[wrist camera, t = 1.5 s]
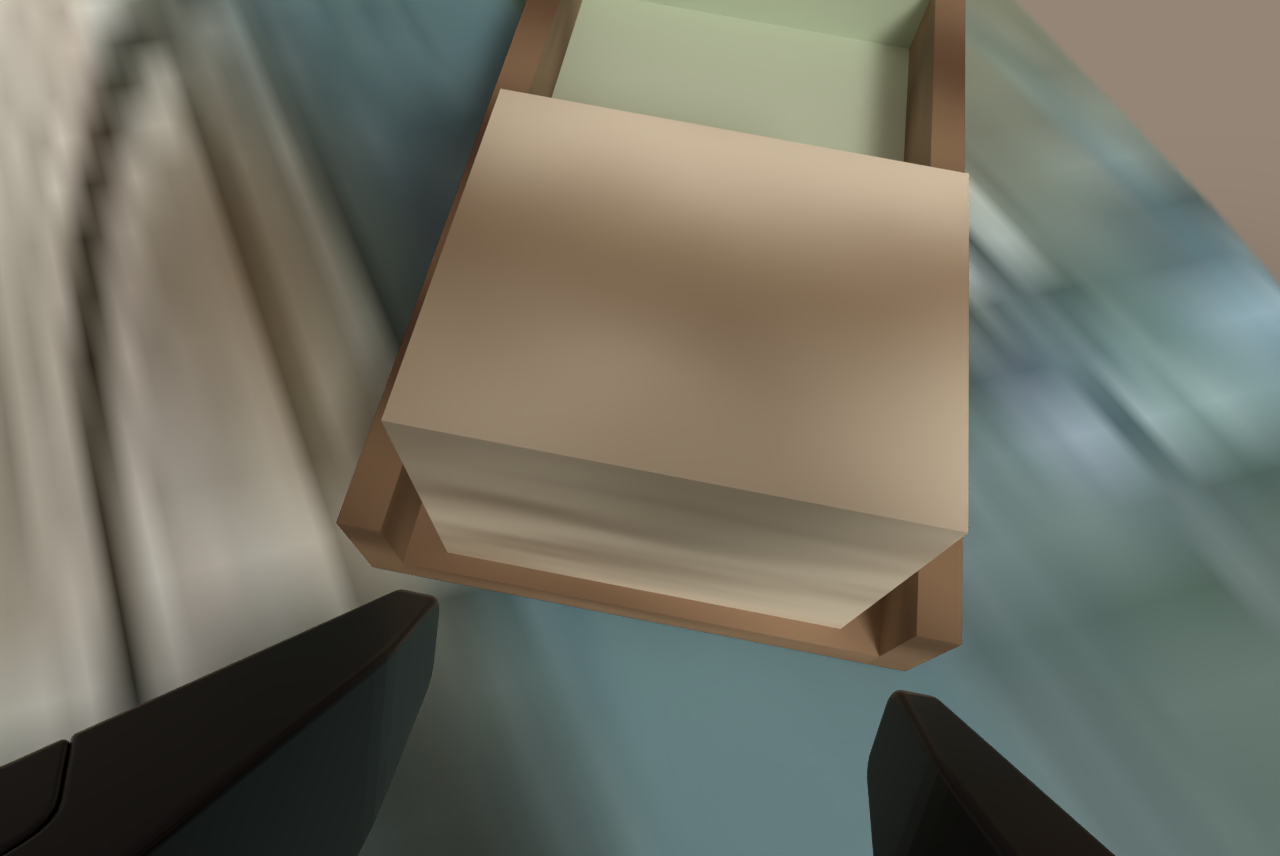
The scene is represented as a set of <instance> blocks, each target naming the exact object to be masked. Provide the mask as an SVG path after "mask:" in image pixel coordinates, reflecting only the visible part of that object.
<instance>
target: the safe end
mask: <svg viewBox="0 0 1280 856" xmlns="http://www.w3.org/2000/svg"><path fill="white" fill-rule="evenodd" d="M929 1H930V0H582V3H581V7H580V10H579V13H578V16H577V19H576V22H575V25H574V29H573V32H572V35H571V38H570V41H569V44H568V47H567V50H566V54H565V57H564V60H563V63H562V66H561V69H560V72H559V76H558V79H557V82H556V85H555V88H554V91H553V94H552V97H551V98H555V99H560V100H566V101H571V102H577V103H582V104H588V105H593V106H599V107H604V108H610V109H615V110H621V111H626V112H632V113H638V114H643V115H649V116H654V117H660V118H665V119H671V120H676V121H682V122H687V123H693V124H698V125H704V126H709V127H715V128H720V129H726V130H731V131H737V132H742V133H748V134H753V135H759V136H764V137H770V138H775V139H781V140H786V141H792V142H797V143H803V144H808V145H814V146H819V147H825V148H830V149H836V150H841V151H847V152H852V153H858V154H863V155H869V156H874V157H880V158H885V159H891V160H896V161H902V162H904V146H905V126H906V106H907V86H908V65H909V48H910V46H911V44H912V41H913V39H914V36H915V34H916V32H917V29H918V27H919V25H920V22H921V20H922V17H923V15H924V13H925V10H926V8H927V6H928V3H929Z"/></svg>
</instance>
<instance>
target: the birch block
mask: <svg viewBox="0 0 1280 856" xmlns="http://www.w3.org/2000/svg"><path fill="white" fill-rule="evenodd" d="M381 421H382V423H383V425H384V427H385V429H386V431H387V433H388V435H389V437H390V439H391V441H392V443H393V445H394V447H395V449H396V451H397V453H398V455H399V457H400V459H401V461H402V463H403V465H404V467H405V469H406V471H407V473H408V475H409V477H410V479H411V481H412V483H413V485H414V487H415V489H416V491H417V493H418V495H419V497H420V499H421V501H422V503H423V505H424V507H425V509H426V511H427V513H428V515H429V517H430V519H431V521H432V523H433V525H434V527H435V529H436V531H437V533H438V535H439V537H440V539H441V541H442V543H443V545H444V547H445V549H446V551H447V552H448V553H453V554H458V555H464V556H469V557H474V558H479V559H484V560H489V561H494V562H499V563H505V564H510V565H515V566H520V567H525V568H530V569H535V570H541V571H546V572H551V573H556V574H561V575H566V576H571V577H576V578H582V579H587V580H592V581H597V582H602V583H607V584H612V585H618V586H623V587H628V588H633V589H638V590H643V591H648V592H653V593H659V594H664V595H669V596H674V597H679V598H684V599H689V600H695V601H700V602H705V603H710V604H715V605H720V606H725V607H731V608H736V609H741V610H746V611H751V612H756V613H761V614H766V615H772V616H777V617H782V618H787V619H792V620H797V621H802V622H808V623H813V624H818V625H823V626H828V627H833V628H838V629H841V628H842V627H844V626H845V625H846V624H848V623H849V622H850V621H852V620H853V619H854V618H856V617H857V616H858V615H860V614H861V613H862V612H864V611H865V610H866V609H868V608H869V607H870V606H872V605H873V604H874V603H876V602H877V601H878V600H880V599H881V598H882V597H884V596H885V595H886V594H888V593H889V592H890V591H892V590H893V589H894V588H896V587H897V586H898V585H900V584H901V583H902V582H904V581H905V580H906V579H908V578H909V577H910V576H912V575H913V574H914V573H916V572H917V571H918V570H920V569H921V568H922V567H924V566H925V565H926V564H928V563H929V562H930V561H932V560H933V559H934V558H936V557H937V556H938V555H940V554H941V553H942V552H943V551H945V550H946V549H947V548H949V547H950V546H951V545H953V544H954V543H955V542H957V541H958V540H959V539H961V538H962V537H963V536H965V535H966V534H967V533H968V429H969V174H968V173H962V172H957V171H951V170H946V169H940V168H935V167H929V166H924V165H918V164H913V163H907V162H902V161H896V160H891V159H885V158H880V157H874V156H869V155H863V154H858V153H852V152H847V151H841V150H836V149H830V148H825V147H819V146H814V145H808V144H803V143H797V142H792V141H786V140H781V139H775V138H770V137H764V136H759V135H753V134H748V133H742V132H737V131H731V130H726V129H720V128H715V127H709V126H704V125H698V124H693V123H687V122H682V121H676V120H671V119H665V118H660V117H654V116H649V115H643V114H638V113H632V112H626V111H621V110H615V109H610V108H604V107H599V106H593V105H588V104H582V103H577V102H571V101H566V100H560V99H555V98H549V97H544V96H538V95H533V94H527V93H522V92H516V91H511V90H505V89H500V92H499V94H498V97H497V100H496V103H495V106H494V108H493V111H492V114H491V117H490V119H489V122H488V125H487V128H486V131H485V133H484V136H483V139H482V142H481V144H480V147H479V150H478V153H477V156H476V158H475V161H474V164H473V167H472V169H471V172H470V175H469V178H468V181H467V183H466V186H465V189H464V192H463V194H462V197H461V200H460V203H459V206H458V208H457V211H456V214H455V217H454V219H453V222H452V225H451V228H450V231H449V233H448V236H447V239H446V242H445V244H444V247H443V250H442V253H441V256H440V258H439V261H438V264H437V267H436V269H435V272H434V275H433V278H432V280H431V283H430V286H429V289H428V292H427V294H426V297H425V300H424V303H423V305H422V308H421V311H420V314H419V317H418V319H417V322H416V325H415V328H414V330H413V333H412V336H411V339H410V342H409V344H408V347H407V350H406V353H405V355H404V358H403V361H402V364H401V367H400V369H399V372H398V375H397V378H396V380H395V383H394V386H393V389H392V392H391V394H390V397H389V400H388V403H387V405H386V408H385V411H384V414H383V417H382V419H381Z"/></svg>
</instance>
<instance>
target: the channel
mask: <svg viewBox="0 0 1280 856" xmlns="http://www.w3.org/2000/svg"><path fill="white" fill-rule="evenodd" d="M581 3H582V0H527V1H526V4H525V7H524V9H523V12H522V15H521V18H520V20H519V23H518V26H517V28H516V31H515V34H514V37H513V39H512V42H511V45H510V48H509V50H508V53H507V56H506V59H505V61H504V64H503V67H502V70H501V72H500V75H499V78H498V81H497V83H496V86H495V89H494V92H493V94H492V97H491V100H490V102H489V105H488V108H487V111H486V113H485V116H484V119H483V122H482V124H481V127H480V130H479V133H478V135H477V138H476V141H475V144H474V146H473V149H472V152H471V155H470V157H469V160H468V163H467V166H466V168H465V171H464V174H463V177H462V179H461V182H460V185H459V187H458V190H457V193H456V196H455V198H454V201H453V204H452V207H451V209H450V212H449V215H448V218H447V220H446V223H445V226H444V229H443V231H442V234H441V237H440V240H439V242H438V245H437V248H436V251H435V253H434V256H433V259H432V261H431V264H430V267H429V270H428V272H427V275H426V278H425V281H424V283H423V286H422V289H421V292H420V294H419V297H418V300H417V303H416V305H415V308H414V311H413V314H412V316H411V319H410V322H409V325H408V327H407V330H406V333H405V335H404V338H403V341H402V344H401V346H400V349H399V352H398V355H397V357H396V360H395V363H394V366H393V368H392V371H391V374H390V377H389V379H388V382H387V385H386V388H385V390H384V393H383V396H382V399H381V401H380V404H379V407H378V409H377V412H376V415H375V418H374V420H373V423H372V426H371V429H370V431H369V434H368V437H367V440H366V442H365V445H364V448H363V451H362V453H361V456H360V459H359V462H358V464H357V467H356V470H355V473H354V475H353V478H352V481H351V483H350V486H349V489H348V492H347V494H346V497H345V500H344V503H343V505H342V508H341V511H340V514H339V516H338V519H337V522H336V523H337V524H338V526H339V527H340V528H341V529H342V530H343V532H344V533H345V534H346V535H347V537H348V538H349V539H350V540H351V541H352V543H353V544H354V545H355V546H356V547H357V549H358V550H359V551H360V552H361V553H362V555H363V556H364V557H365V558H366V560H367V561H368V562H369V563H370V564H371V566H372V567H375V568H380V569H385V570H390V571H395V572H400V573H405V574H411V575H416V576H421V577H426V578H431V579H436V580H441V581H446V582H451V583H457V584H462V585H467V586H472V587H477V588H482V589H487V590H492V591H498V592H503V593H508V594H513V595H518V596H523V597H528V598H533V599H538V600H544V601H549V602H554V603H559V604H564V605H569V606H574V607H579V608H584V609H590V610H595V611H600V612H605V613H610V614H615V615H620V616H625V617H630V618H636V619H641V620H646V621H651V622H656V623H661V624H666V625H671V626H676V627H682V628H687V629H692V630H697V631H702V632H707V633H712V634H717V635H723V636H728V637H733V638H738V639H743V640H748V641H753V642H758V643H763V644H769V645H774V646H779V647H784V648H789V649H794V650H799V651H804V652H809V653H815V654H820V655H825V656H830V657H835V658H840V659H845V660H850V661H855V662H861V663H866V664H871V665H876V666H881V667H886V668H891V669H896V670H902V671H907V670H909V669H911V668H913V667H915V666H917V665H920V664H922V663H924V662H926V661H928V660H930V659H932V658H934V657H937V656H939V655H941V654H943V653H945V652H947V651H949V650H951V649H954V648H956V647H958V646H960V645H962V561H963V537H962V538H961V539H959V540H958V541H957V542H955V543H954V544H953V545H951V546H950V547H949V548H947V549H946V550H945V551H943V552H942V553H941V554H940V555H938V556H937V557H936V558H934V559H933V560H932V561H930V562H929V563H928V564H926V565H925V566H924V567H922V568H921V569H920V570H918V571H917V572H916V573H914V574H913V575H912V576H910V577H909V578H908V579H906V580H905V581H904V582H902V583H901V584H900V585H898V586H897V587H896V588H894V589H893V590H892V591H890V592H889V593H888V594H886V595H885V596H884V597H882V598H881V599H880V600H878V601H877V602H876V603H874V604H873V605H872V606H870V607H869V608H868V609H866V610H865V611H864V612H862V613H861V614H860V615H858V616H857V617H856V618H854V619H853V620H852V621H850V622H849V623H848V624H846V625H845V626H844V627H842V628H841V629H838V628H833V627H828V626H823V625H818V624H813V623H808V622H802V621H797V620H792V619H787V618H782V617H777V616H772V615H766V614H761V613H756V612H751V611H746V610H741V609H736V608H731V607H725V606H720V605H715V604H710V603H705V602H700V601H695V600H689V599H684V598H679V597H674V596H669V595H664V594H659V593H653V592H648V591H643V590H638V589H633V588H628V587H623V586H618V585H612V584H607V583H602V582H597V581H592V580H587V579H582V578H576V577H571V576H566V575H561V574H556V573H551V572H546V571H541V570H535V569H530V568H525V567H520V566H515V565H510V564H505V563H499V562H494V561H489V560H484V559H479V558H474V557H469V556H464V555H458V554H453V553H448V552H447V551H446V549H445V547H444V545H443V543H442V541H441V539H440V537H439V535H438V533H437V531H436V529H435V527H434V525H433V523H432V521H431V519H430V517H429V515H428V513H427V511H426V509H425V507H424V505H423V503H422V501H421V499H420V497H419V495H418V493H417V491H416V489H415V487H414V485H413V483H412V481H411V479H410V477H409V475H408V473H407V471H406V469H405V467H404V465H403V463H402V461H401V459H400V457H399V455H398V453H397V451H396V449H395V447H394V445H393V443H392V441H391V439H390V437H389V435H388V433H387V431H386V429H385V427H384V425H383V423H382V421H381V419H382V417H383V414H384V411H385V408H386V405H387V403H388V400H389V397H390V394H391V392H392V389H393V386H394V383H395V380H396V378H397V375H398V372H399V369H400V367H401V364H402V361H403V358H404V355H405V353H406V350H407V347H408V344H409V342H410V339H411V336H412V333H413V330H414V328H415V325H416V322H417V319H418V317H419V314H420V311H421V308H422V305H423V303H424V300H425V297H426V294H427V292H428V289H429V286H430V283H431V280H432V278H433V275H434V272H435V269H436V267H437V264H438V261H439V258H440V256H441V253H442V250H443V247H444V244H445V242H446V239H447V236H448V233H449V231H450V228H451V225H452V222H453V219H454V217H455V214H456V211H457V208H458V206H459V203H460V200H461V197H462V194H463V192H464V189H465V186H466V183H467V181H468V178H469V175H470V172H471V169H472V167H473V164H474V161H475V158H476V156H477V153H478V150H479V147H480V144H481V142H482V139H483V136H484V133H485V131H486V128H487V125H488V122H489V119H490V117H491V114H492V111H493V108H494V106H495V103H496V100H497V97H498V94H499V92H500V89H505V90H511V91H516V92H522V93H527V94H533V95H538V96H544V97H549V98H551V97H552V94H553V91H554V88H555V85H556V82H557V79H558V76H559V72H560V69H561V66H562V63H563V60H564V57H565V54H566V50H567V47H568V44H569V41H570V38H571V35H572V32H573V29H574V25H575V22H576V19H577V16H578V13H579V10H580V7H581ZM904 162H907V163H913V164H918V165H924V166H929V167H935V168H940V169H946V170H951V171H957V172H962V173H965V0H930V1H929V3H928V6H927V8H926V10H925V13H924V15H923V17H922V20H921V22H920V25H919V27H918V29H917V32H916V34H915V36H914V39H913V41H912V44H911V46H910V48H909V65H908V86H907V106H906V126H905V146H904Z"/></svg>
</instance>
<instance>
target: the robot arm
mask: <svg viewBox="0 0 1280 856" xmlns="http://www.w3.org/2000/svg"><path fill="white" fill-rule="evenodd" d="M438 618H439V603H438V600H437V599H436V598H435V597H434V596H431V595H427V594H422V593H417V592H412V591H407V590H397V591H394V592H392V593H389V594H387V595H385V596H383V597H380V598H378V599H376V600H374V601H371V602H369V603H367V604H365V605H362V606H360V607H358V608H356V609H354V610H351V611H349V612H347V613H345V614H342V615H340V616H338V617H336V618H333V619H331V620H329V621H327V622H324V623H322V624H320V625H318V626H315V627H313V628H311V629H309V630H307V631H304V632H302V633H300V634H298V635H295V636H293V637H291V638H289V639H286V640H284V641H282V642H280V643H277V644H275V645H273V646H271V647H269V648H266V649H264V650H262V651H260V652H257V653H255V654H253V655H251V656H248V657H246V658H244V659H242V660H239V661H237V662H235V663H233V664H230V665H228V666H226V667H224V668H222V669H219V670H217V671H215V672H213V673H210V674H208V675H206V676H204V677H201V678H199V679H197V680H195V681H192V682H190V683H188V684H186V685H183V686H181V687H179V688H177V689H175V690H172V691H170V692H168V693H166V694H163V695H161V696H159V697H157V698H154V699H152V700H150V701H148V702H145V703H143V704H141V705H139V706H136V707H134V708H132V709H130V710H128V711H125V712H123V713H121V714H119V715H116V716H114V717H112V718H110V719H107V720H105V721H103V722H101V723H98V724H96V725H94V726H92V727H89V728H87V729H85V730H83V731H80V732H78V733H76V734H74V735H73V736H72V738H71V742H70V743H69V741H68V740H60V741H57V742H55V743H53V744H51V745H49V746H46V747H44V748H42V749H40V750H37V751H35V752H33V753H31V754H28V755H26V756H24V757H22V758H19V759H17V760H15V761H13V762H10V763H8V764H6V765H3V766H1V767H0V856H357V855H358V853H359V852H360V850H361V848H362V846H363V844H364V842H365V840H366V838H367V836H368V834H369V832H370V830H371V828H372V826H373V824H374V821H375V819H376V816H377V814H378V812H379V809H380V807H381V804H382V802H383V800H384V797H385V795H386V792H387V790H388V787H389V785H390V782H391V780H392V777H393V775H394V772H395V770H396V767H397V765H398V762H399V760H400V757H401V754H402V752H403V749H404V747H405V744H406V742H407V739H408V737H409V734H410V732H411V729H412V727H413V724H414V722H415V719H416V717H417V714H418V712H419V709H420V707H421V704H422V702H423V699H424V697H425V694H426V691H427V689H428V686H429V682H430V679H431V675H432V670H433V664H434V655H435V646H436V637H437V627H438ZM867 784H868V796H869V808H870V821H871V833H872V845H873V856H1115V855H1114V854H1113V853H1112V852H1111V851H1109V850H1108V849H1107V848H1106V847H1105V846H1104V845H1103V844H1101V843H1100V842H1099V841H1098V840H1097V839H1096V838H1095V837H1094V836H1092V835H1091V834H1090V833H1089V832H1088V831H1087V830H1086V829H1085V828H1083V827H1082V826H1081V825H1080V824H1079V823H1078V822H1077V821H1075V820H1074V819H1073V818H1072V817H1071V816H1070V815H1069V814H1068V813H1066V812H1065V811H1064V810H1063V809H1062V808H1061V807H1060V806H1059V805H1057V804H1056V803H1055V802H1054V801H1053V800H1052V799H1051V798H1049V797H1048V796H1047V795H1046V794H1045V793H1044V792H1043V791H1042V790H1040V789H1039V788H1038V787H1037V786H1036V785H1035V784H1034V783H1032V782H1031V781H1030V780H1029V779H1028V778H1027V777H1026V776H1025V775H1023V774H1022V773H1021V772H1020V771H1019V770H1018V769H1017V768H1016V767H1014V766H1013V765H1012V764H1011V763H1010V762H1009V761H1008V760H1006V759H1005V758H1004V757H1003V756H1002V755H1001V754H1000V753H999V752H997V751H996V750H995V749H994V748H993V747H992V746H991V745H990V744H988V743H987V742H986V741H985V740H984V739H983V738H982V737H980V736H979V735H978V734H977V733H976V732H975V731H974V730H973V729H971V728H970V727H969V726H968V725H967V724H966V723H965V722H963V721H962V720H961V719H960V718H959V717H958V716H957V715H956V714H954V713H953V712H952V711H951V710H950V709H949V708H948V707H947V706H945V705H944V704H943V703H942V702H941V701H940V700H938V699H937V698H935V697H933V696H929V695H924V694H919V693H914V692H909V691H904V690H897V691H895V692H894V693H892V695H891V696H890V698H889V699H888V701H887V704H886V707H885V710H884V713H883V716H882V719H881V722H880V725H879V728H878V731H877V734H876V737H875V740H874V743H873V746H872V749H871V752H870V756H869V761H868V768H867Z"/></svg>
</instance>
